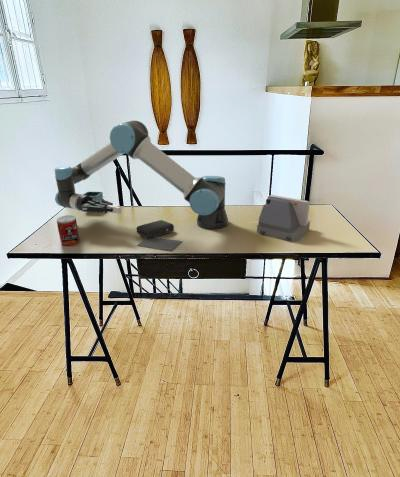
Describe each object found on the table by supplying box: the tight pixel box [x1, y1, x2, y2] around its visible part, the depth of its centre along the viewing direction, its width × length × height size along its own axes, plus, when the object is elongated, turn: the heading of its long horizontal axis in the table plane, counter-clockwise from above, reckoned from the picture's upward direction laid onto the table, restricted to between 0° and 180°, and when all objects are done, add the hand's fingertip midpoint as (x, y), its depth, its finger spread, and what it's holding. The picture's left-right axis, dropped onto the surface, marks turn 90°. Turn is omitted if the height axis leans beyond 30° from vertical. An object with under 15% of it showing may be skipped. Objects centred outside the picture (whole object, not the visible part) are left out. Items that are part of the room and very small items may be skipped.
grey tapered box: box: [256, 194, 311, 242], centre depth 155 cm, size 21×21×15 cm
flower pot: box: [82, 191, 104, 201], centre depth 187 cm, size 9×9×9 cm
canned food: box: [56, 215, 80, 247], centre depth 147 cm, size 8×8×11 cm
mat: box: [136, 236, 183, 252], centre depth 146 cm, size 16×10×1 cm, turn 68°
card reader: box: [135, 219, 175, 238], centre depth 156 cm, size 9×4×15 cm
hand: (119, 210), depth 149 cm, fingers closed
